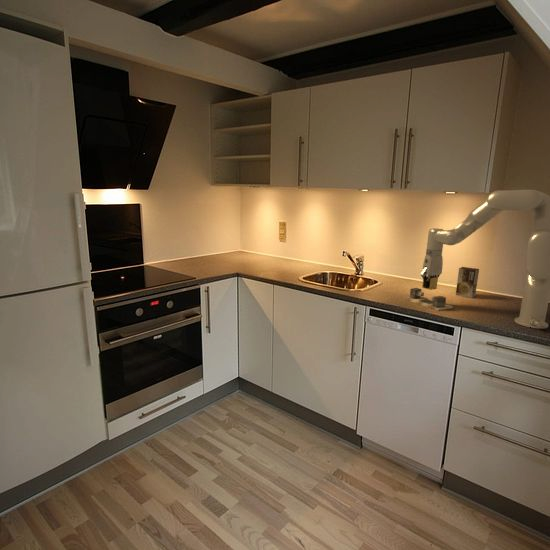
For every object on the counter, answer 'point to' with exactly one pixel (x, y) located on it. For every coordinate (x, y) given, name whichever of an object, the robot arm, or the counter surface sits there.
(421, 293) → the shaft bench
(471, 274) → the coffee box
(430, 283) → the coupling block
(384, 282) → the counter surface
